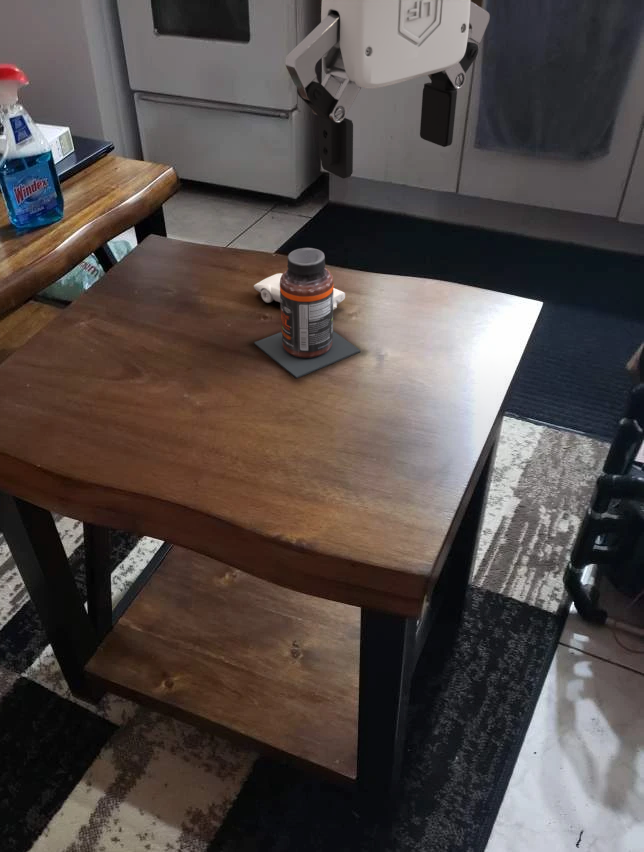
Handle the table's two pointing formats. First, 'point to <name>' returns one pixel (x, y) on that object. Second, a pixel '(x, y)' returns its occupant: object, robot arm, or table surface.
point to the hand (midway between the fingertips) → (387, 157)
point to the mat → (305, 365)
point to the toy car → (273, 290)
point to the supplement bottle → (306, 304)
